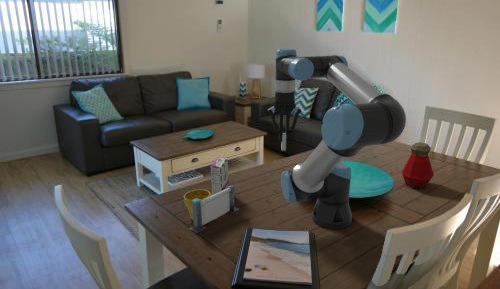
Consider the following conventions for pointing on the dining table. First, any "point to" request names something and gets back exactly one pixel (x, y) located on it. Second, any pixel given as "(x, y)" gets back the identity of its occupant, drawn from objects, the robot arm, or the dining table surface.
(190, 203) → the plant pot
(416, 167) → the bottle
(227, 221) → the dining table surface
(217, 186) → the candy bar box
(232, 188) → the white rounded panel
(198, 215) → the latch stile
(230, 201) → the hinge post
